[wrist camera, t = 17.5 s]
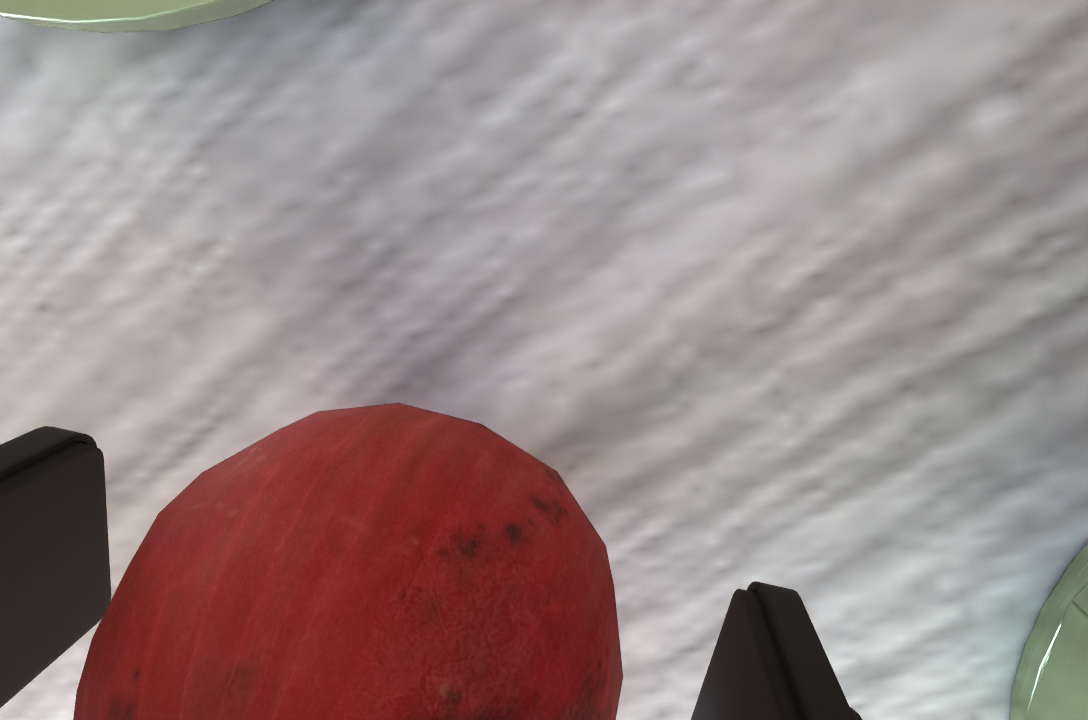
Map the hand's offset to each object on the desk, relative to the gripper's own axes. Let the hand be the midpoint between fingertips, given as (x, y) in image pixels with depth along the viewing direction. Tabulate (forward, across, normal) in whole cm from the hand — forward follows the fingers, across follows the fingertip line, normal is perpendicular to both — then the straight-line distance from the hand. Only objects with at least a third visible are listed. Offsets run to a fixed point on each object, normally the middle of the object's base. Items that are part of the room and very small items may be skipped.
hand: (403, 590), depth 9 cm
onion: (+3, 0, 0) cm, 3 cm away
